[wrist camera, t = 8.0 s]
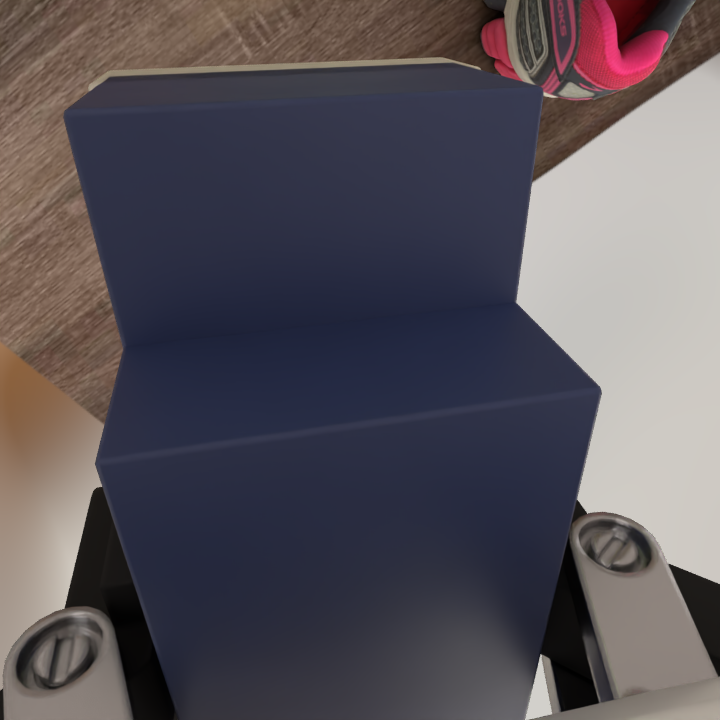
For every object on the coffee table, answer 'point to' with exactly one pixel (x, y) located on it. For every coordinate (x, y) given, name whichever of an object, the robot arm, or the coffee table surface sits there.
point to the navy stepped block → (331, 385)
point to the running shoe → (581, 42)
